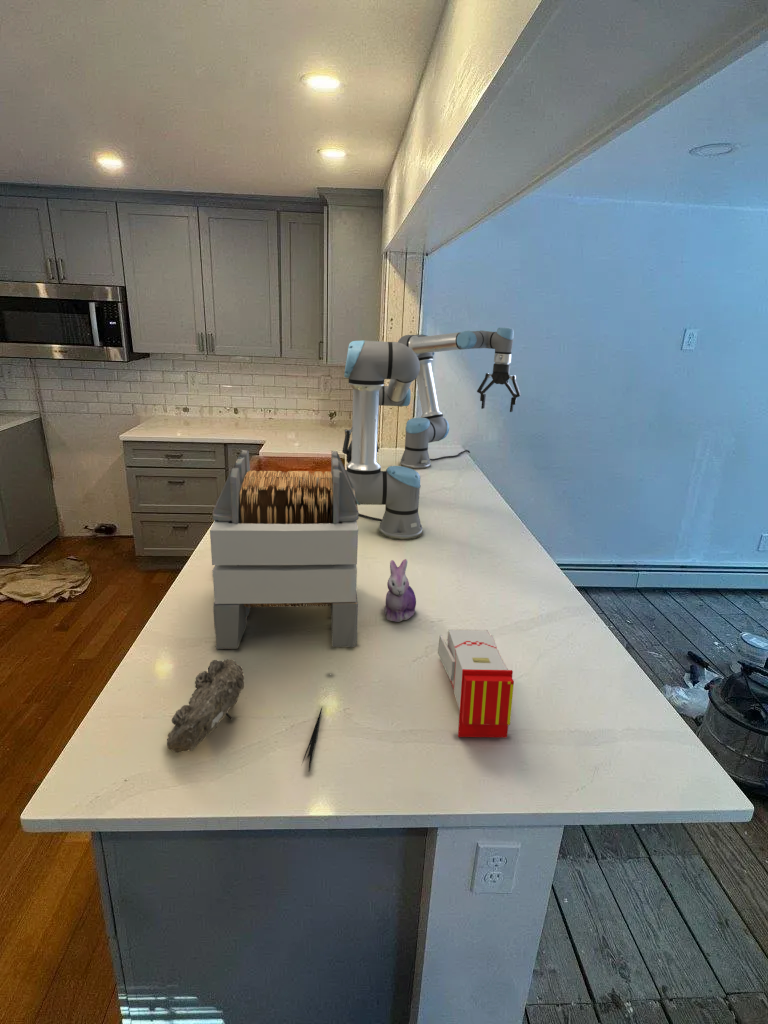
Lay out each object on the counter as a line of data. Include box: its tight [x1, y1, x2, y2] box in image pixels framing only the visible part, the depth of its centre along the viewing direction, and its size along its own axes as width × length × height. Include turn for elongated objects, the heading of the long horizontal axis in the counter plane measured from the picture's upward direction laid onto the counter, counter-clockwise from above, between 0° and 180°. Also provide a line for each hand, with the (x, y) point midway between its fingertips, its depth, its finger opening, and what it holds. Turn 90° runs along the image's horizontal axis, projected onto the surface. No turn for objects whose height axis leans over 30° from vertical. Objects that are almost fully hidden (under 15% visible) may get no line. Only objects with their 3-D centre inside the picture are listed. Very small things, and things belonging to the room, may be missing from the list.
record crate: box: [209, 449, 360, 651], centre depth 139 cm, size 34×33×41 cm
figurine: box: [384, 558, 417, 623], centre depth 145 cm, size 9×10×15 cm
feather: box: [301, 673, 332, 771], centre depth 108 cm, size 2×28×2 cm
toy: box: [437, 628, 515, 738], centre depth 117 cm, size 12×13×30 cm
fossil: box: [166, 658, 245, 754], centre depth 106 cm, size 22×10×15 cm
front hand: (359, 469), depth 241 cm, fingers closed on canister, 8 cm apart
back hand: (496, 410), depth 265 cm, fingers open, 13 cm apart
